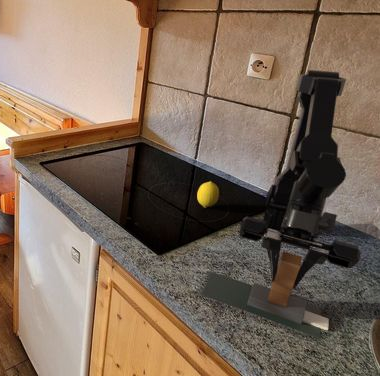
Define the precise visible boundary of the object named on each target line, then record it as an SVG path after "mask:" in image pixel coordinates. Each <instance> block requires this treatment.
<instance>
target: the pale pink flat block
mask: <svg viewBox="0 0 380 376" xmlns="http://www.w3.org/2000/svg"><path fill="white" fill-rule="evenodd" d="M302 322H305V323H308V324H311V325H313V326H316V327H319V328H320V329H322V330H324V331H329V322H330V321H329V318H328V317H325V316H322V315H321V316H320V315H317V314H314V313H311V312H308V311H305V316H304V319H303V321H302Z"/></svg>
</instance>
